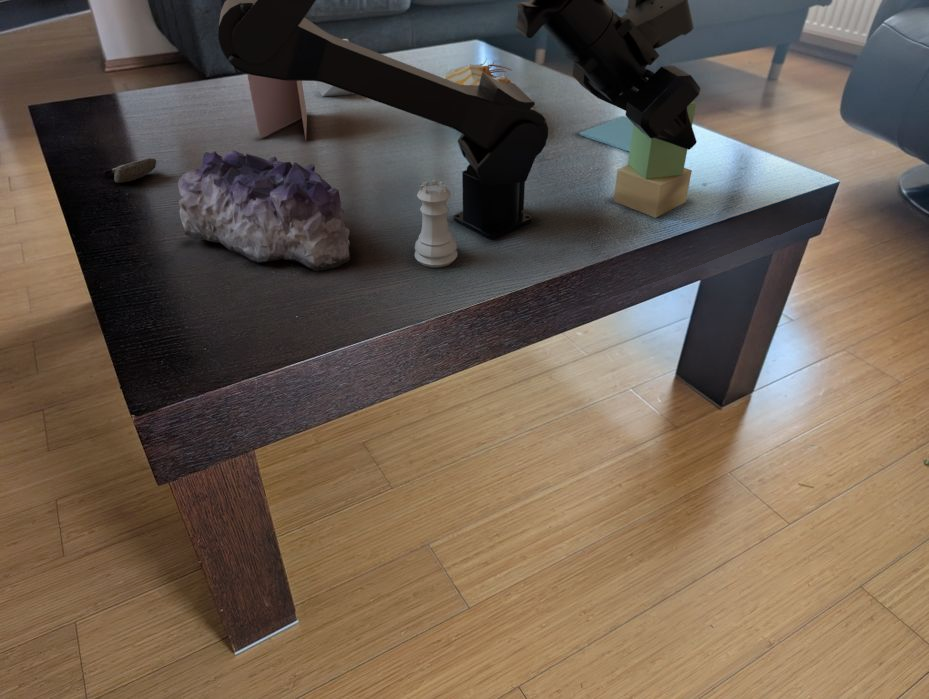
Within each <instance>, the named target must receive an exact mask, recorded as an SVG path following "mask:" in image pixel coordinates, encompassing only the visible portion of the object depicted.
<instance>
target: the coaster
mask: <svg viewBox="0 0 929 699" xmlns="http://www.w3.org/2000/svg"><path fill="white" fill-rule="evenodd" d="M632 131H633V123H632V122H631V121H630V120H629V119H628V118H627V116H619V117H618V118H615V119H612V120H610V121H606V122H605V123H601V124H599V125H596V126H593V127H591V128H587V129H585V130H582V131H580V132H579V136H581V137H584V138H587V139H590V140H593V141H596V142H598V143H602V144H605V145H608V146H611V147H614V148H616V149H620V150H623V151H625V152H629V153H630V145H631V138H632Z"/></svg>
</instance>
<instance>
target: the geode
mask: <svg viewBox="0 0 929 699" xmlns="http://www.w3.org/2000/svg"><path fill="white" fill-rule="evenodd" d="M315 167H316V166H315V164H314V163H310V164H308V165H307V166H304V167H303V166H302V165H300V164H299V163H297V162H295V161H294V162H293V164H292V163H291V162H290V161H278V158H277V157H276V156H272V157H270V158H268V159H265V158H263V157H260V156H257V155H253V154H249V153H246V154H243V153H241V152H239V151H237V150H235V149H233V150H231V151H229V152H228V153H226V154H224V155H223V156H222V155H220V154H218V152H216V151H213V152H211V153H210V152H208V151H205V153H204V155H203V157H202V162H201V165H200V168H198V169H192V170H190V171H187V172H185V173H184V174H182V175H181V176H180V177H179V179H178V182H177V184H178V191H179V195H180V197H181V198H180V199H179V200H178V201H177V202H178V205H179V207H180V209H179V218H180V220H181V223H182V226H183V233H184V235H185V236H187V237H190V238H192V239H194V240H199V241H201V240H202V241H209V242H212V243H220V244H221V245H222V246H224V247H225V248H226V249H227V250H229V251H231V252H235V253H237V254H240V255H242V256H244V257H246V258H248V259H249V260H250V261H253V262H255V263H266V262H267V263H268V262H273V261H278V260H286V261H287V260H288V261H295V262H298V263H299V264H302V265H304V266H305V267H306V268H308V269H311V270H313V271H314V272H316V271H317V272H318V271H323V270H329V269H333V268H337V267H341V266H342V265H344V264H346V263H348V262H349V261H350V259H351V256H350V255H351V254H350V249H349V248H350V244H351V241H350V240H349V235H350V232H351V231H350V230H349V228H348V227H346V226H345V219H344V213H345V212H344V210H343V209H342V202H341V196H340V192H339V189H338V188H335V187H332V186H331V184H329V183H328V182H327V181H326V180H325V179H323V177H322V176H321V175H320V174H319V173H317V172H316V171H315V170H316V168H315Z"/></svg>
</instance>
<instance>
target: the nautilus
mask: <svg viewBox="0 0 929 699" xmlns="http://www.w3.org/2000/svg"><path fill="white" fill-rule="evenodd" d="M487 60H488V58H485V61H484V62H483V63H480V64H471V63H470V64H465V65H463V66H459V67H456V68H452V69H450V70H449V71H448V72H446V73H444V74H443V75H442V76H441V77H442V78H444V79H447V80H450V81H452V82H455V83H457V84H461V85H479V83H480V79H481V75H482V73H483V72H484V73H486V74H487V75H489V76H491V77H492V78H494V79H495V80H497V81H499V82H502V83H506V84H510V83H512V81H511V79H509V78H508V77H506V76H505V75H494V73H506V71H505V70H503V69H506V70H509V71H513V69H511V68H508V67H506V66H502V65H497V64H495V62H496V60H493V61H492V64H487V65H485V64H486V62H487ZM492 67H495V68H494V69H491V68H492ZM500 68H501V69H500Z"/></svg>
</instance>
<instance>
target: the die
mask: <svg viewBox="0 0 929 699" xmlns="http://www.w3.org/2000/svg"><path fill="white" fill-rule="evenodd" d="M342 39H343V40H345V41H348V42H350V41H349V39H348V38H342ZM313 83H314V84H315V86H316V88H317V90H318V92H319V93H320V95H321V97H333V96H349V95H355V94H354V93H352V92H349V91H346V90H343V89H340V88H337V87H335V86H332V85H329V84H326V83H323V82H319V81H313Z"/></svg>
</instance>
